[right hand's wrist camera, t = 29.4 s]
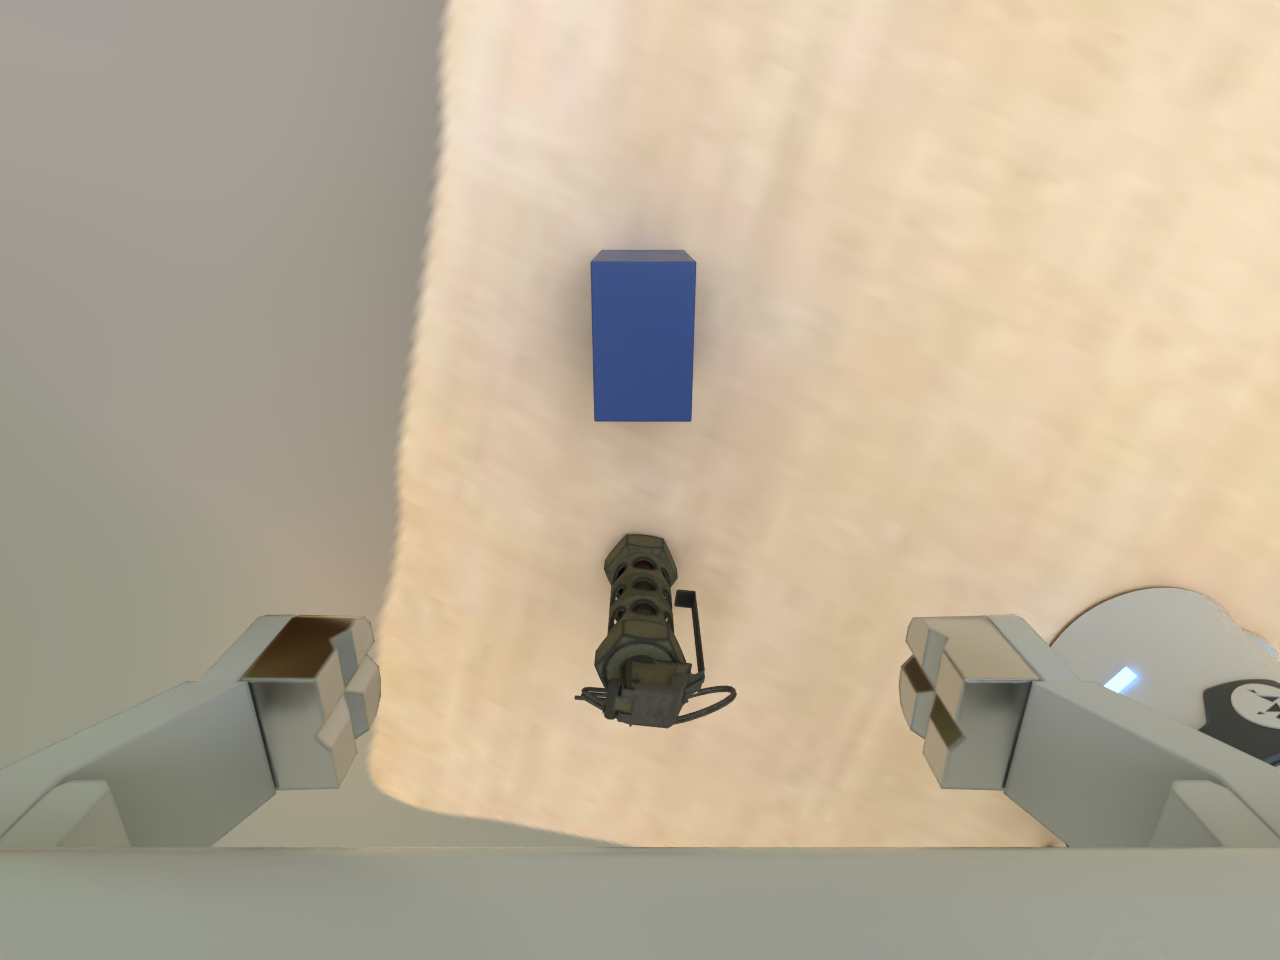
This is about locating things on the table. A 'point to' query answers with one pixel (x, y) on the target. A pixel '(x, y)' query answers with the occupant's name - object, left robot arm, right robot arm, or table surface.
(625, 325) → the brick
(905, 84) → the table surface
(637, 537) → the grenade
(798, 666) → the table surface
